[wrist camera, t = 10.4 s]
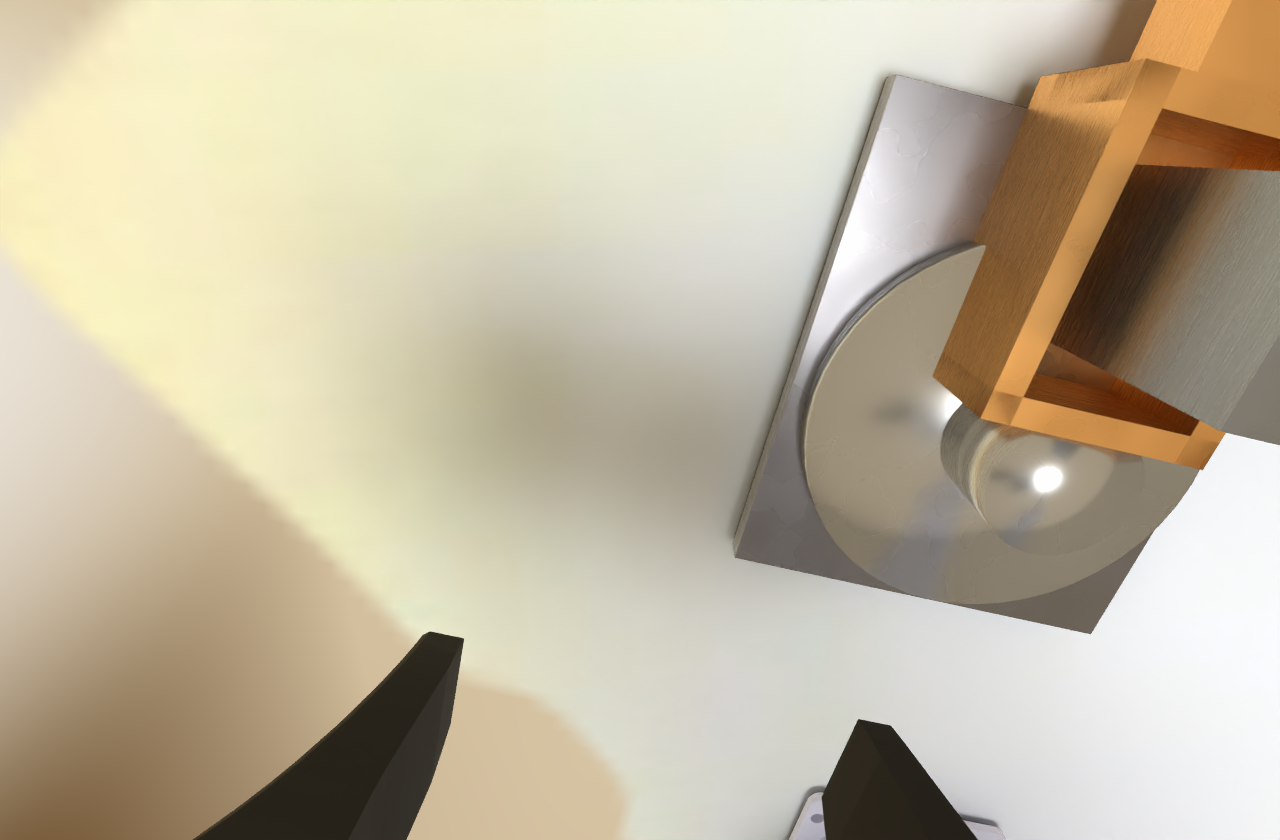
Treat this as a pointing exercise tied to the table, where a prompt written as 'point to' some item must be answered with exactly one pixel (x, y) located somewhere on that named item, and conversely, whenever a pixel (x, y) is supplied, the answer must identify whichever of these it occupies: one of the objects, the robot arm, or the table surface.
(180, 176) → the table surface
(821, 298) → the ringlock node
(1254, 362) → the brushed metal block
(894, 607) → the table surface
